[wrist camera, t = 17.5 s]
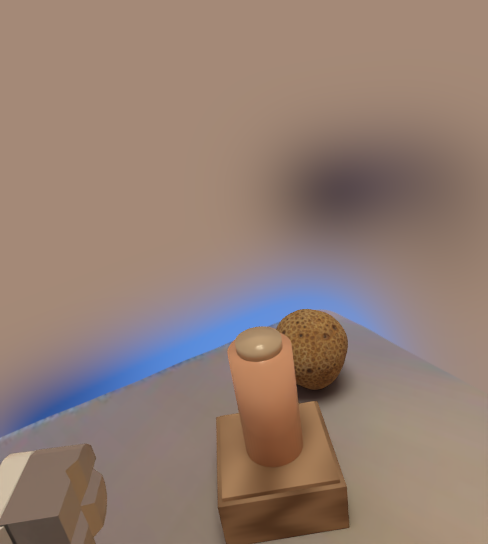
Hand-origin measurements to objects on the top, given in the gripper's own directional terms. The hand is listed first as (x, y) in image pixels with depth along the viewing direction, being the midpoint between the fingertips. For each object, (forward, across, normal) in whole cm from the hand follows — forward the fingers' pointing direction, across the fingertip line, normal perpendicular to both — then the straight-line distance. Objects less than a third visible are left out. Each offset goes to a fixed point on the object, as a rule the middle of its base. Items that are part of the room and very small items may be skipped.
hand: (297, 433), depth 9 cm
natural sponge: (+35, -6, +28) cm, 45 cm away
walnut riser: (+22, 0, +28) cm, 35 cm away
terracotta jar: (+22, 0, +22) cm, 31 cm away
